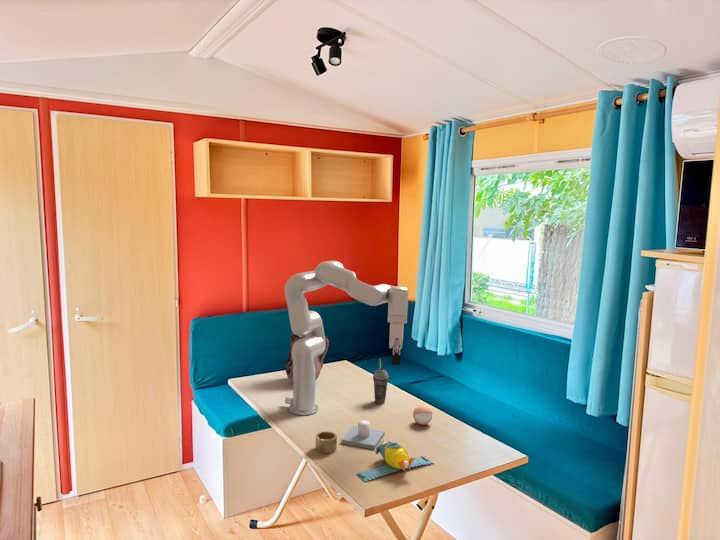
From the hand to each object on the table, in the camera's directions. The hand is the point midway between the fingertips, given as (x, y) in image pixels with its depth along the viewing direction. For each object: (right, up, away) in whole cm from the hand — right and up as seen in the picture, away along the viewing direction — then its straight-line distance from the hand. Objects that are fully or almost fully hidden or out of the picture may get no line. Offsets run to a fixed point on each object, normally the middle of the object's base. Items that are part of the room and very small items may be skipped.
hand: (395, 361), depth 196 cm
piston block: (-13, -29, -5) cm, 32 cm away
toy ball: (+12, -28, +11) cm, 32 cm away
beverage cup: (-5, -25, +33) cm, 42 cm away
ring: (-26, -29, -15) cm, 42 cm away
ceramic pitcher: (-41, -21, +57) cm, 73 cm away
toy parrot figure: (-2, -32, -26) cm, 41 cm away
